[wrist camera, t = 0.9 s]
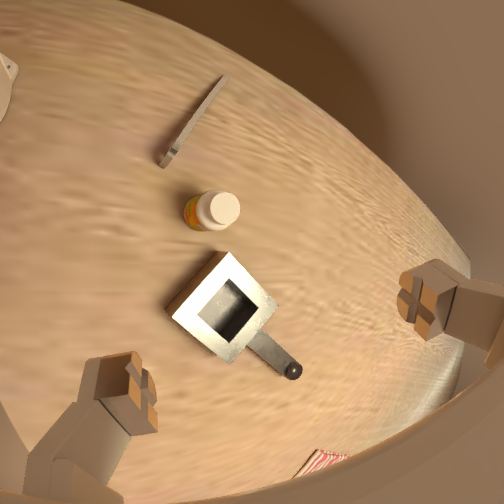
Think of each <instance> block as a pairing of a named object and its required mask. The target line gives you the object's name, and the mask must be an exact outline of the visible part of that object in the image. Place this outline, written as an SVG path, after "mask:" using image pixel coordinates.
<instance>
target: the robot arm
mask: <svg viewBox="0 0 504 504" xmlns="http://www.w3.org/2000/svg"><path fill="white" fill-rule="evenodd" d="M8 67H10V68H9V69H7V68H8ZM18 72H19V67H18V66H17V64H16V63H14V62H13V61H11V60H10V59H9V58H7V57H6V56H4V55H3V54H2V53H0V122H1V120H2V118H3V117H4V115H5V113H6V110H7V108H8V105H9V102H10V97H11V89H12V84H13V82H14V80H15V78H16V76H17V74H18ZM399 285H400V286H401V290H400V292H399V293H398V295H397V308H398V312H399V313H400V315H401V317H402V318H403V319H404V320H405V321H406V322H409V323H413V324H414V330H415V331H416V332H417V333H418V334H419V335H420V336H421V337H422V338H423V339H424V340H425V341H428V340H430V339H432V338H434V337H435V336H437V335H439V334H441V333H443V332H444V333H445V334H448V335H450V336H452V337H455V338H457V339H460V340H462V341H464V342H467V343H469V344H472V345H474V346H476V347H479V348H481V349H483V350H486V351H488V352H489V353H488V355H487V357H486V359H485V362H484V365H485V366H486V367H487V368H488V369H489V371H487V372H486V373H485V374H484V375H483V376H481V377H480V378H479V379H478V380H477V381H475V382H474V383H473V384H471V385H470V386H469V387H468V388H466V389H465V390H464V391H462V392H461V393H460V394H458V395H457V396H455V397H454V398H453V399H451V400H450V401H448V402H447V403H446V404H444V405H443V406H441V407H440V408H438V409H437V410H435V411H434V412H432V413H431V414H429V415H428V416H426V417H424V418H423V419H421V420H420V421H418V422H416V423H415V424H413V425H411V426H410V427H408V428H406V429H404V430H403V431H401V432H399V433H397V434H395V435H394V436H392V437H390V438H388V439H386V440H384V441H382V442H380V443H378V444H376V445H374V446H372V447H370V448H368V449H366V450H364V451H362V452H360V453H358V454H355V455H353V456H351V457H349V458H346V459H344V460H342V461H339V462H337V463H335V464H332V465H330V466H327V467H324V468H322V469H319V470H316V471H314V472H311V473H308V474H305V475H302V476H299V477H296V478H293V479H290V480H287V481H284V482H280V483H277V484H273V485H270V486H266V487H262V488H258V489H254V490H250V491H246V492H242V493H237V494H232V495H227V496H222V497H216V498H210V499H204V500H197V501H189V502H180V503H170V504H504V285H500V284H495V283H491V282H487V281H482V280H477V279H473V278H471V279H468V278H466V277H465V276H463V275H462V274H461V273H459V272H458V271H456V270H455V269H453V268H452V267H450V266H449V265H447V264H446V263H444V262H443V261H441V260H440V259H433V260H431V261H428V262H426V263H424V264H422V265H420V266H417V267H415V268H412V269H410V270H407V271H405V272H402V274H401V276H400V279H399ZM156 401H157V396H156V389H155V385H154V382H153V379H152V377H151V375H150V373H149V372H148V371H147V370H145V369H144V368H142V359H141V358H140V356H139V355H138V353H137V352H135V351H131V352H125V353H120V354H114V355H108V356H103V357H97V358H90V359H88V360H87V361H86V363H85V367H84V371H83V375H82V380H81V384H80V389H79V394H78V399H77V402H72V404H71V405H70V406H69V407H68V408H67V409H66V411H65V412H64V413H63V414H62V415H61V416H60V418H59V419H58V420H57V421H56V422H55V424H54V425H53V426H52V427H51V428H50V429H49V431H48V432H47V433H46V434H45V435H44V437H43V438H42V439H41V440H40V441H39V443H38V444H37V445H36V446H35V447H34V449H33V450H32V451H31V452H30V454H29V455H28V459H27V465H26V471H25V478H24V485H23V493H22V494H19V493H15V492H11V491H7V490H4V489H0V504H124V502H123V497H122V496H121V495H120V494H119V493H118V492H116V491H114V490H113V489H111V488H110V487H108V486H107V484H108V482H109V480H110V478H111V476H112V474H113V472H114V470H115V468H116V466H117V464H118V462H119V461H120V459H121V457H122V455H123V453H124V451H125V449H126V447H127V445H128V444H129V442H130V440H131V437H130V436H137V435H144V434H150V433H156V432H158V422H157V412H156V411H155V410H154V408H153V406H154V404H155V403H156Z"/></svg>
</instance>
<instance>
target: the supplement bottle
mask: <svg viewBox="0 0 504 504" xmlns="http://www.w3.org/2000/svg"><path fill="white" fill-rule="evenodd" d="M239 213H240V205H239V202H238V200H237V198H236V197H235V196H234V195H233V194H231V193H228V192H224V191H221V190H211V191H208V192H205V193H203V194H200V195H198V196H195V197H193V198H191V199H190V200H189V201H188V202H187V204H186V205H185V208H184V219H185V221H186V223H187V225H188V226H189V227H190V228H192V229H194V230H196V231H218V230H223V229H225V228H227V227H228V226H229V225H230V224H231V223H232V222H234V221H235V220H236V219H237V217H238V216H239Z"/></svg>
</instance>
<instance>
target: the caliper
mask: <svg viewBox="0 0 504 504" xmlns="http://www.w3.org/2000/svg"><path fill="white" fill-rule="evenodd" d="M227 80H228V77H227V76H226V75H224V76H223V77H222V78H221V79H220V81H219V82H218V83H217V84H216V86H215V87H214V88H213V89H212V91H211V92H210V93H209V95H208V96H207V97H206V98H205V100H204V101H203V102H202V104H201V105H200V107H199V108H198V109H197V111H196V112H195V113H194V115H193V116H192V117H191V119H190V120H189V122H188V123H187V124H186V126H185V127H184V128H183V130H182V131H181V133H180V134H179V136H178V137H177V139H176V140H175V142H174V143H173V145H172V146H171V147H170V149H169V150H168V151H167V153H166V154H165V157H164V158H163V159H162V161H161V162H160V164H159V166H160V167H162V168H165V167H166V166H167V165H168V164H169V162H170V161H171V160H172V159H173V157H174V156H175V154H176V153H177V152H178V150H179V148H180V147H181V146H182V143H183V142H184V140H185V139H186V137H187V136H188V134H189V133H190V131H191V130H192V128H193V127H194V125H195V124H196V122H197V121H198V119H199V118H200V116H201V115H202V114H203V112H204V111H205V109H206V108H207V107H208V105H209V104H210V102H211V101H212V100H213V98H214V97H215V96H216V94H217V93H218V92H219V90H220V89H221V88H222V86H223V85H224V84H225V82H226V81H227Z"/></svg>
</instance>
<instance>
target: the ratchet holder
mask: <svg viewBox="0 0 504 504" xmlns="http://www.w3.org/2000/svg"><path fill="white" fill-rule="evenodd" d="M278 306H279V305H278V304H277V303H276V302H275V301H274V300H273V299H272V298H271V297H270V296H269V295H268V294H267V293H266V292H265V291H264V289H263V288H262V287H261V286H260V285H259V284H258V283H257V282H256V281H255V280H254V279H253V278H252V277H251V276H250V274H249V273H248V272H247V271H246V270H245V269H244V268H243V267H242V266H241V265H240V264H239V263H238V262H237V260H236V259H235V258H234V257H233V256H232V255H231V254H230V253H229V252H221V251H217V252H216V253H215V254H214V255H213V256H212V257H211V258H210V259H209V261H208V262H207V263H206V264H205V265H204V266H203V267H202V268H201V269H200V270H199V272H198V273H197V274H196V275H195V276H194V277H193V278H192V279H191V280H190V281H189V283H188V284H187V285H186V286H185V287H184V288H183V289H182V290H181V292H180V293H179V294H178V295H177V296H176V297H175V298H174V299H173V300H172V302H171V303H170V304H169V305H168V306H167V307H166V308H165V310H166V311H167V312H168V314H169V315H170V316H171V317H172V318H173V319H175V320H176V321H177V322H178V323H179V324H180V325H181V326H183V327H184V328H185V329H186V330H187V331H189V332H190V333H191V334H192V335H193V336H194V337H196V338H197V339H198V340H199V341H201V342H202V343H203V344H204V345H205V346H207V347H208V348H209V349H210V350H212V351H213V352H214V353H215V354H217V355H218V356H219V357H220V358H222V359H223V360H224V361H226V362H227V363H228V364H229V365H230V364H231V363H232V362H233V360H234V359H235V358H236V357H237V356H238V355H239V353H240V352H241V351H242V350H243V349H244V347H245V346H246V345H247V346H248V347H249V348H250V349H251V350H252V351H254V352H255V353H256V354H257V355H258V356H259V357H261V358H262V359H263V360H264V361H265V362H267V363H268V364H269V365H270V366H272V367H273V368H274V369H275V370H276V371H278V372H279V373H280V374H281V375H283V376H284V377H286V378H287V379H289V380H296V379H298V378H299V377H300V376H301V374H302V370H303V369H302V366H301V365H300V364H299V363H298V362H297V361H296V360H295V359H294V358H292V357H291V356H290V355H289V354H288V353H287V352H286V351H285V350H284V349H283V348H282V347H280V346H279V345H278V344H277V343H276V342H275V341H274V340H273V339H272V338H271V337H270V336H269V335H268V334H266V333H265V332H264V331H263V330H262V329H261V327H262V326H263V324H264V323H265V322H266V321H267V320H268V318H269V317H270V316H271V315H272V313H273V312H274V311H275V310H276V308H277V307H278Z"/></svg>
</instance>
